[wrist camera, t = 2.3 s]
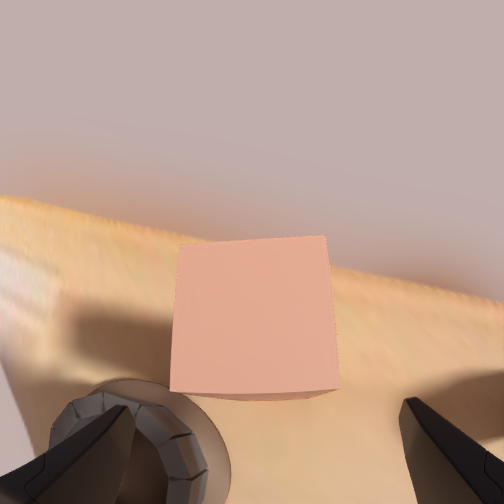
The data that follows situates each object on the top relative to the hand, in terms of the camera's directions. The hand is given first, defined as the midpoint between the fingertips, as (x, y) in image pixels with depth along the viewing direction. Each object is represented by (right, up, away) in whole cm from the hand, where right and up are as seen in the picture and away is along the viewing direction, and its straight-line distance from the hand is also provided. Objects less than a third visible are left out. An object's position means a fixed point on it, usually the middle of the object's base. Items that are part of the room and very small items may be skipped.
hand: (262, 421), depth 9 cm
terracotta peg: (+1, -2, +10) cm, 11 cm away
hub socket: (-8, -9, +8) cm, 14 cm away
